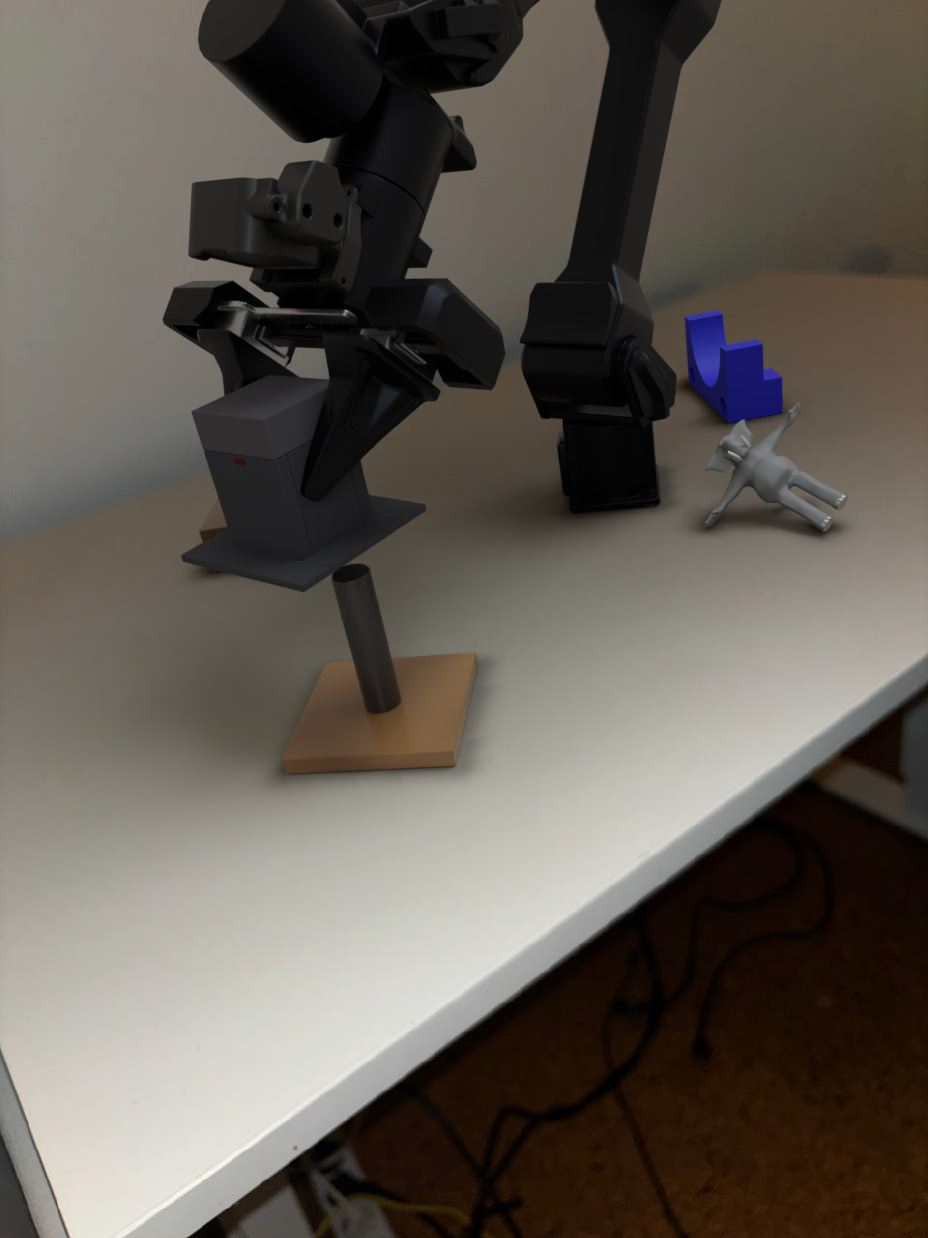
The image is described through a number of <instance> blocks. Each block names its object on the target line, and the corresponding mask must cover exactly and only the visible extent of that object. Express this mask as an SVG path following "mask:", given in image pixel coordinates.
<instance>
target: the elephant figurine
mask: <svg viewBox="0 0 928 1238" xmlns="http://www.w3.org/2000/svg"><path fill="white" fill-rule="evenodd" d="M800 408H801V404H800V403H799V402H796V403H795V404H794V405H793V407H792V408H791V409H789V410H787V413H786V414H785V415H784V418H783V421H782V423H781V424H780V425H779V427H777V428H776V429H775V430H773V431H772V432H771V433H770V434H768V435H767V436H766V437H765V438H764V439H763V440H761V441H760V443H758V444H757V445H755V446H753V447H752V445H751V443H752V439H753V437H754V434H753V433H752V432H751V431H750V430H749V429H748V427H747V425H746V420H741V421H737V422H736V424H735V425H734V426H733V427H732V428H731V431H730V432H729V433H728V435H726V436H723V437H722V438H720V440H719V441H718V443H717V448H716V450H715V452H714V453H713V454H712V455H711V456H710V457H709V458H708V459H707V461H706V463H705V468H704V470H705V472H710V471H716V472H721V473H723V474H724V473H725V474H726V473H727V471H729V470H730V469H731V468H733V467H734V468H733V470H732V474H731V478H730V479H729V480H730V481H729V483H728V485H727V488H726V490H725V492H724V494H723V495H722V497H721V499H720V501H719V503H718V505H717V506H716V507H715V508H714V509H713V510H711V512H710V513H709V516H708V518H707V520H706V521H704V526H705V527H706V528H708V527H711V526H713V524H715V522H717V521H718V520H719V519H720V518H721V517H722V516H723V514H724V512H725V511H726V509H727V508H728V507H729V505H730V504H731V503H732V502H733V501H734V500H735V499H736V498H738V496H739V495H740V494H741V492H742V491H743V490H744V489H745V488H747V487H749V488H752V489H753V491H755V493H756V495H757V496H758V497H759V499H761V500H762V501H764V502H765V503H769V504H779V505H780V506H782V507H784V508H785V509H787V510H789V511H791V512H792V513H794V514H796V515H798V516H799V517H802V518H803V519H805V521H807V522H808V523H810V524H811V525H812V526H814V527H815V528H816V529H818V530H820V531H822V533H823V532H824V533H825V532H827V531H829V529H830V528H831V527H832V525H833V522H834V518H833V516H830V515H828V514H827V513H825V512H823V511H822V510H820V509H818V507H816V506H814V505H812V504H811V503H809V502H808V501H806V500H804V499H803V498H801V497H800V496H798V495H797V494H796V493H793V492H792V491H791V489H792V488H793V487H796V488H797V489H799V490H801V491H804V492H806V493H808V494H809V495H811V496H813V497H814V498H816V499H818V500H819V501H821V502H823V503H825V504H827V505H828V506H830V507H832V508H833V509H834V510H836V511H841V510H842V509H843V508H844V507H845V506H846V504H847V501H848V497H849V496H848V495H846V494H844V493H842V492H841V491H838V490H836V489H835V488H834V489H833V488H832V487H830V486H827V485H826V484H824V483H822V482H821V481H819V480H817V479H816V478H814V477H813V476H811V475H810V474H808V473H806V472H805V471H802V470H799V469H798V467H797V465H796V464H795V463H794V462H793V460H791V459H790V458H788V457H787V456H785V455H779V456H778V455H776V454H775V450H776V448H777V447H778V446H779V444H780V442H781V439H782V438H783V436H784V434H785V433H786V432H787V430H788V429H789V428H791V427H792V425H794V423H795V421H796V416H797V415H798V414H799V412H800ZM751 447H752V448H751Z"/></svg>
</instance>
